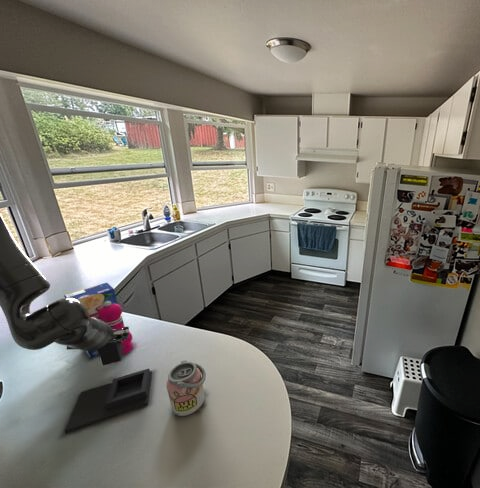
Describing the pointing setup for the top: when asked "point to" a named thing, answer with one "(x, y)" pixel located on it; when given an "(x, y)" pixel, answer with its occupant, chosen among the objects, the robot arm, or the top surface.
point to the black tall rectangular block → (111, 353)
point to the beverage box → (95, 302)
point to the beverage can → (186, 387)
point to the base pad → (110, 400)
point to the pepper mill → (115, 322)
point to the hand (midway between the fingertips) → (111, 341)
